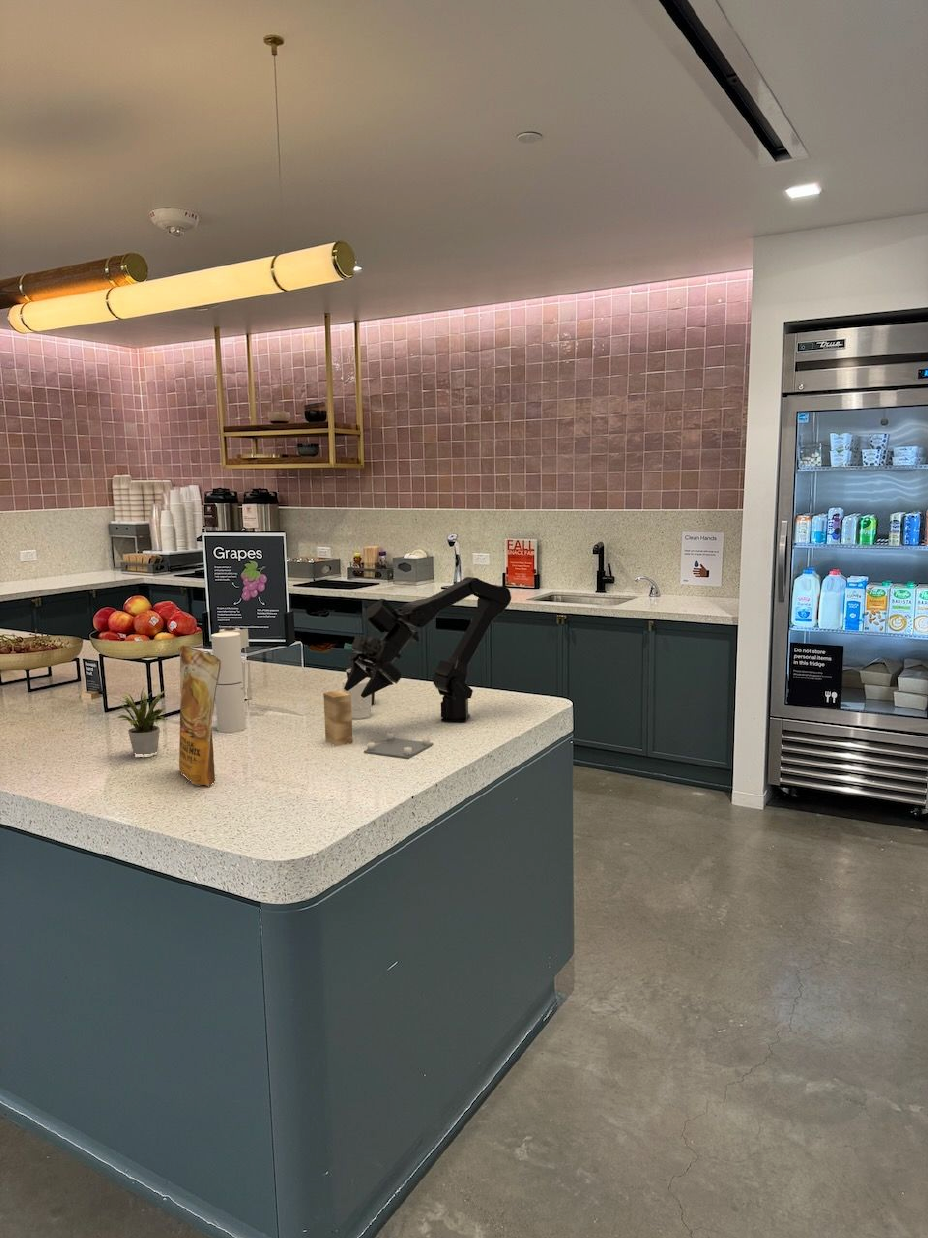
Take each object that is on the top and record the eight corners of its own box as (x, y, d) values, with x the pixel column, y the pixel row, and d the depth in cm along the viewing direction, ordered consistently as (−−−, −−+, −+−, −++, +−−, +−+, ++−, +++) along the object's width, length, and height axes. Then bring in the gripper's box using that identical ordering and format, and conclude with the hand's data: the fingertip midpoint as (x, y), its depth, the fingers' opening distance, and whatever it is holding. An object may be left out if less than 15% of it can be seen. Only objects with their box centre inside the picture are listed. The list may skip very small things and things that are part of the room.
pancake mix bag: (201, 763, 207) (193, 642, 203) (231, 785, 191) (222, 655, 187) (171, 769, 203) (162, 646, 199) (199, 791, 187) (190, 659, 183)
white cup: (375, 712, 249) (374, 676, 247) (370, 719, 241) (368, 683, 240) (347, 712, 250) (346, 676, 248) (341, 719, 242) (339, 683, 240)
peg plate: (390, 739, 222) (390, 731, 222) (433, 745, 217) (433, 736, 217) (363, 752, 212) (363, 744, 211) (408, 759, 206) (407, 750, 206)
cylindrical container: (211, 731, 234) (205, 635, 230) (230, 724, 240) (224, 631, 236) (232, 734, 230) (226, 637, 227) (251, 727, 237) (245, 633, 233)
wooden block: (342, 737, 225) (340, 690, 224) (352, 742, 220) (350, 694, 219) (325, 740, 223) (323, 692, 221) (335, 746, 218) (333, 697, 216)
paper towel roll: (219, 702, 264) (214, 630, 261) (230, 697, 270) (226, 627, 267) (241, 703, 262) (236, 631, 259) (252, 698, 268) (247, 627, 264)
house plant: (104, 767, 205) (98, 697, 202) (111, 750, 218) (105, 684, 216) (170, 761, 209) (165, 692, 206) (173, 745, 222) (168, 680, 219)
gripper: (354, 619, 230) (315, 667, 226) (388, 628, 215) (348, 680, 211) (382, 646, 236) (345, 693, 232) (418, 657, 220) (379, 708, 216)
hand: (353, 693), depth 222 cm, fingers open, 9 cm apart
